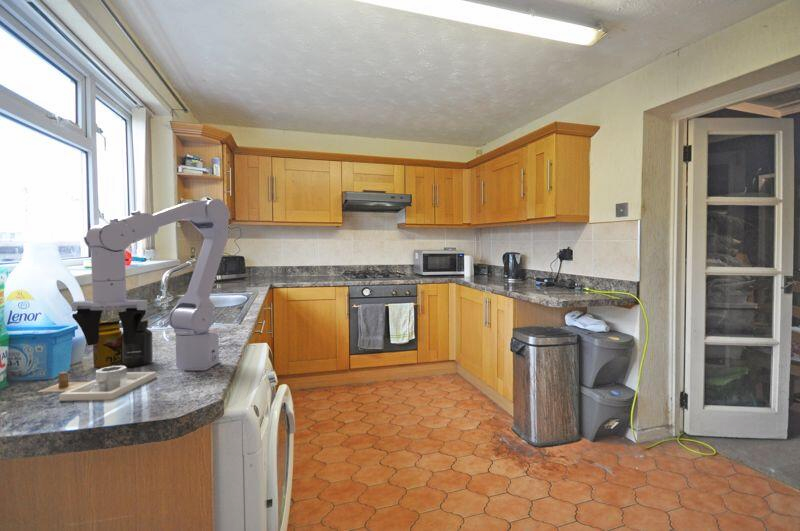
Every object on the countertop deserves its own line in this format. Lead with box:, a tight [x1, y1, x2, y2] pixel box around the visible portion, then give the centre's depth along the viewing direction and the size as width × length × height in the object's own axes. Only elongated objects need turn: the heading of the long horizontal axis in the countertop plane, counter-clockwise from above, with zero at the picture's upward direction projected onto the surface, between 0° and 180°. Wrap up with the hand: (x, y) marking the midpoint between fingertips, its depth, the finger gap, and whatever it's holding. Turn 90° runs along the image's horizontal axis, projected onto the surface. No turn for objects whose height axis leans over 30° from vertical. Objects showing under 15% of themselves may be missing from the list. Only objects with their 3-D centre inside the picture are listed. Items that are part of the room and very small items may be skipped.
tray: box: [58, 371, 157, 402], centre depth 81 cm, size 10×14×2 cm
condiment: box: [92, 319, 123, 368], centre depth 100 cm, size 7×8×12 cm
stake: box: [36, 371, 89, 393], centre depth 82 cm, size 6×6×4 cm
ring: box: [92, 365, 128, 392], centre depth 80 cm, size 5×7×4 cm
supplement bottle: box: [120, 318, 154, 369], centre depth 99 cm, size 7×7×12 cm
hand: (111, 343), depth 81 cm, fingers open, 7 cm apart
